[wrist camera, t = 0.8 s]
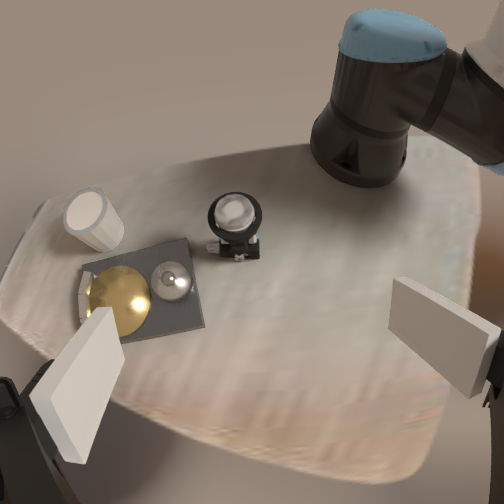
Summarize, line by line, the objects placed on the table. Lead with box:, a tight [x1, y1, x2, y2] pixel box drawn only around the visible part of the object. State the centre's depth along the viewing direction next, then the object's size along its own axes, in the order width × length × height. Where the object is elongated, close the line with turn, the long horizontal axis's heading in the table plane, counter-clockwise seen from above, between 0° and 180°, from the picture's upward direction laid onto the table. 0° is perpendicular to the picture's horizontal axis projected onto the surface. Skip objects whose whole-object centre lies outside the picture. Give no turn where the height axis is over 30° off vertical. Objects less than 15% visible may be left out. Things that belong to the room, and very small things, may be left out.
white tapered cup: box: [63, 187, 124, 253], centre depth 37 cm, size 7×7×7 cm
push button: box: [206, 192, 262, 261], centre depth 34 cm, size 7×5×10 cm
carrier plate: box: [78, 238, 205, 344], centre depth 35 cm, size 15×11×4 cm
